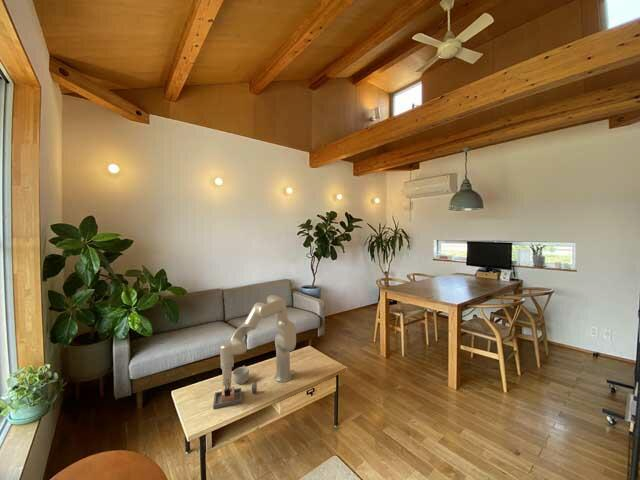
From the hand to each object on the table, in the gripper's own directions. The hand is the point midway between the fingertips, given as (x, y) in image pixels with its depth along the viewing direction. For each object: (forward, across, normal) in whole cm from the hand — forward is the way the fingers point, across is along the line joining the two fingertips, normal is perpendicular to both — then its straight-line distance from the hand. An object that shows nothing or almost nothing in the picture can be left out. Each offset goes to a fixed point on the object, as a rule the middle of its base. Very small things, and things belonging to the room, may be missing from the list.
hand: (227, 391), depth 165 cm
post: (+5, -2, +16) cm, 17 cm away
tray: (+5, 0, 0) cm, 5 cm away
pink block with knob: (+5, 0, 0) cm, 5 cm away
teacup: (+6, -20, +9) cm, 23 cm away
